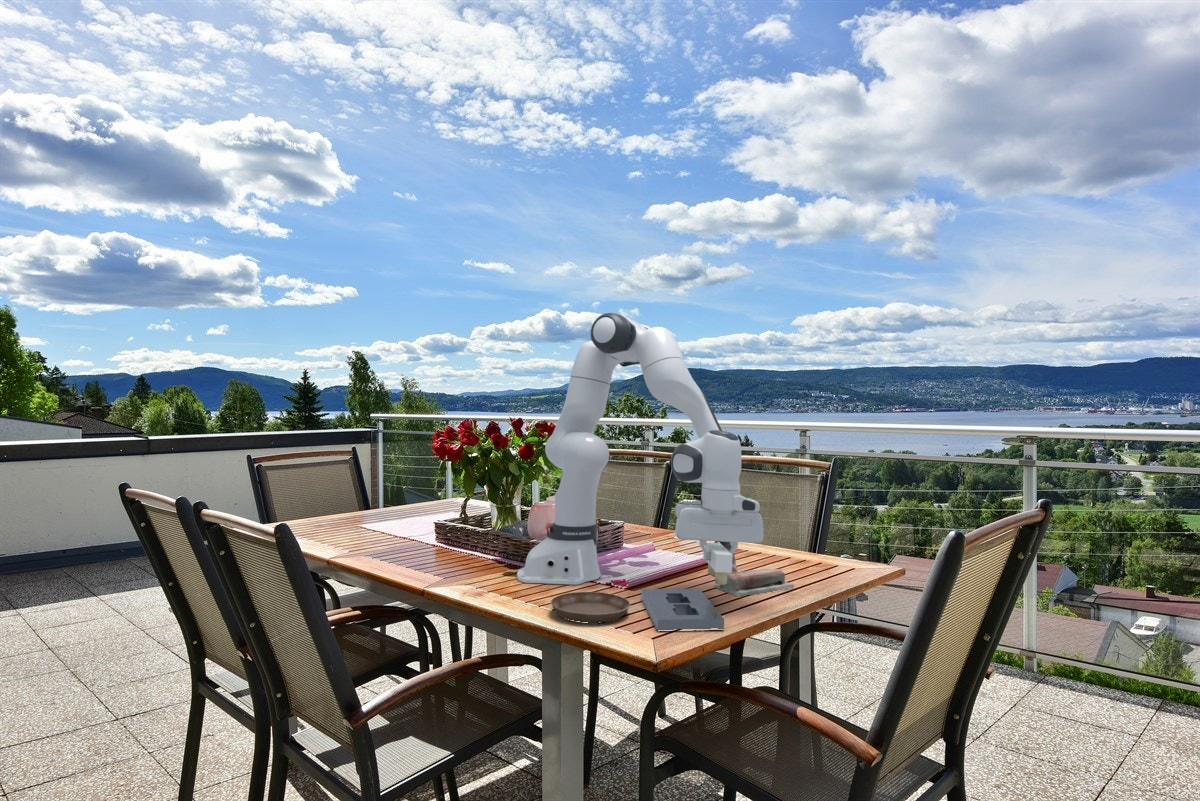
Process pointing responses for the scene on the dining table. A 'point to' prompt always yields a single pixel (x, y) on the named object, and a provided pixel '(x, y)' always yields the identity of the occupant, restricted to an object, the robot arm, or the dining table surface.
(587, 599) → the plant saucer
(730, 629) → the dining table surface
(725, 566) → the white pronged plug block
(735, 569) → the figurine
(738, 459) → the robot arm
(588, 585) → the dining table surface
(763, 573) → the packaged product
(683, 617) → the keyhole plate
